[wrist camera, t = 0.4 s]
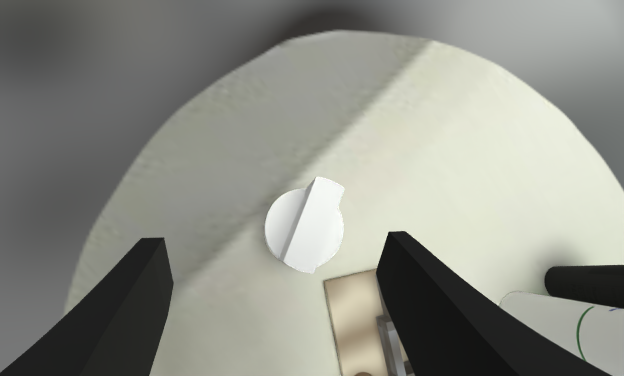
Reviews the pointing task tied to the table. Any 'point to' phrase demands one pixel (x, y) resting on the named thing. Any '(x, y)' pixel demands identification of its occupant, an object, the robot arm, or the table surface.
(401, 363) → the dock
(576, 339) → the cylindrical container
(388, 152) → the table surface
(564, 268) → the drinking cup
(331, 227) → the base with upright slab
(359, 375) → the peg
